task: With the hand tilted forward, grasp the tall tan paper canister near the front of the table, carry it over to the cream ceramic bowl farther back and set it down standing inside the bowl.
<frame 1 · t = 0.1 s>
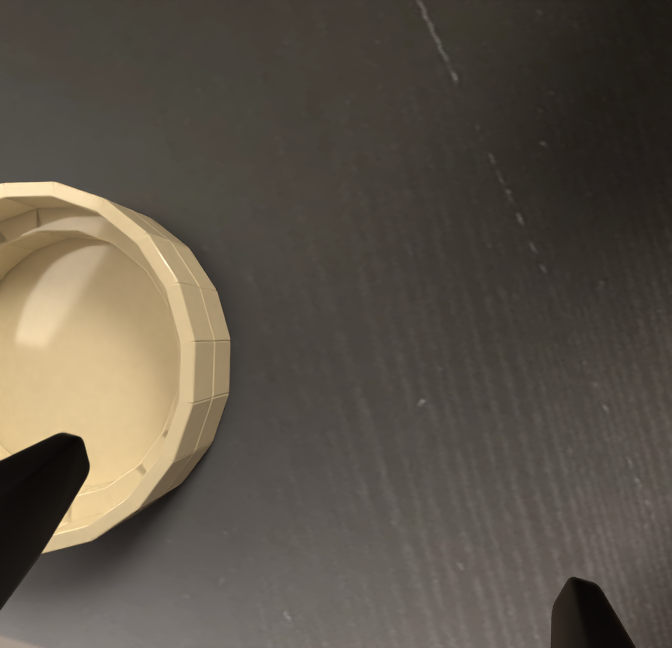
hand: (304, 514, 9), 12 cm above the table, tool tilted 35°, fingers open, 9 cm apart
bowl: (88, 360, 24), on the table
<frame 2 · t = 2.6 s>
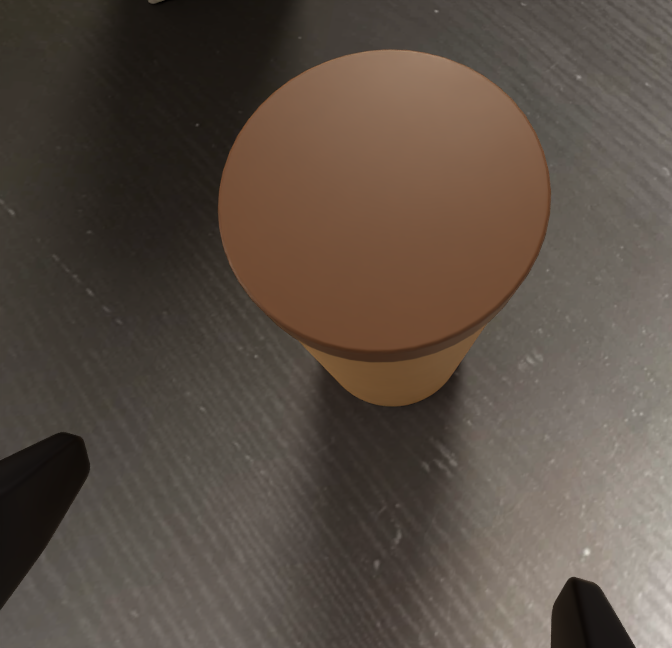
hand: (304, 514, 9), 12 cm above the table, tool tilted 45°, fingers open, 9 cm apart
canister: (391, 336, 22), on the table
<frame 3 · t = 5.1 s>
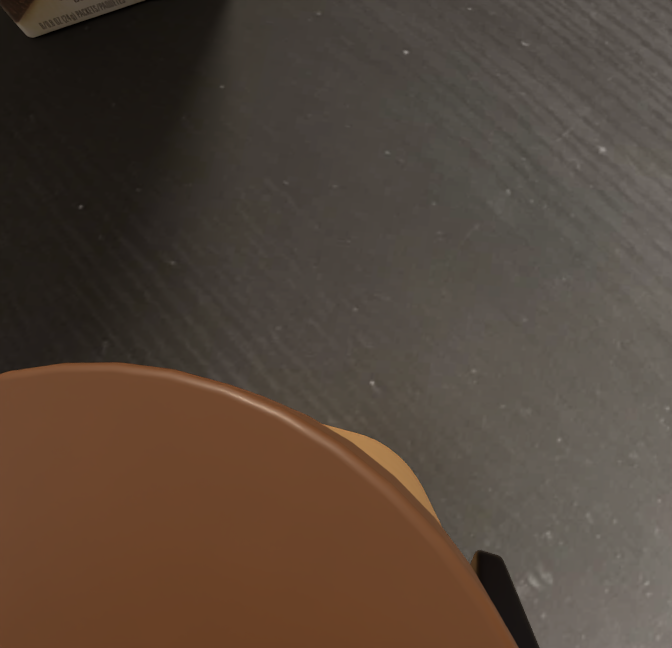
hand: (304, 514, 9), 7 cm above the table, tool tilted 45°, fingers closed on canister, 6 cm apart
canister: (332, 533, 15), on the table, touching gripper
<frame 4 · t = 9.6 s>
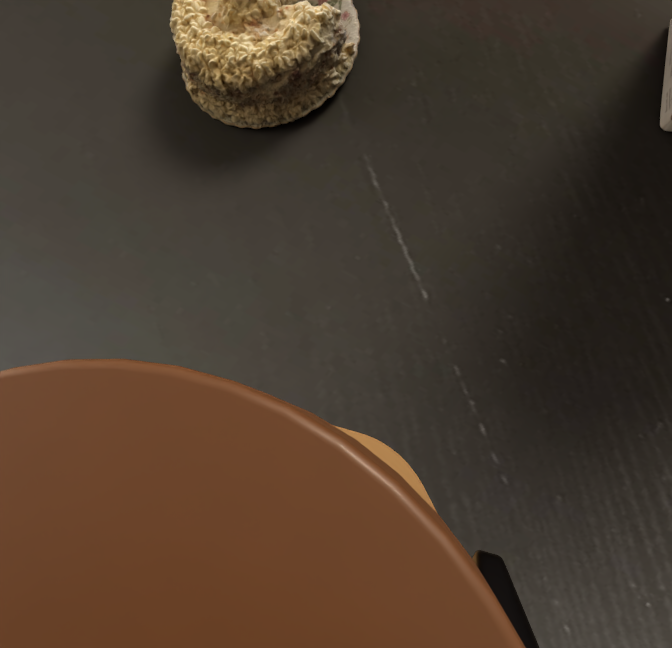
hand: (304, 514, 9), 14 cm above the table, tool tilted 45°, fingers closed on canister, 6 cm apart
canister: (333, 532, 15), point 7 cm above the table, touching gripper
cake: (270, 52, 28), on the table
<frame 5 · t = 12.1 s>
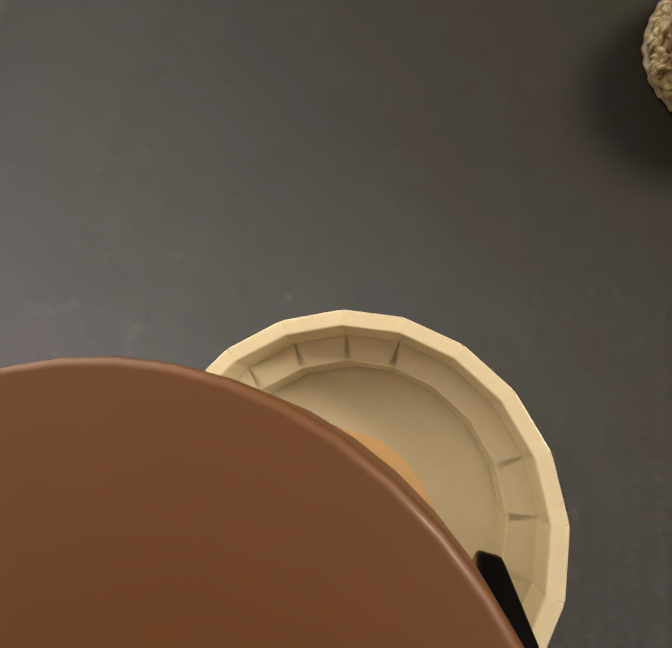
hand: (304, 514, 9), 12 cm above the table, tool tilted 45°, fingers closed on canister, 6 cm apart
canister: (332, 531, 15), point 6 cm above the table, touching gripper
bowl: (352, 506, 21), on the table
when the fingers open (7 cm above the table, at t = 14.1 s): canister stays where it is, resting on bowl.
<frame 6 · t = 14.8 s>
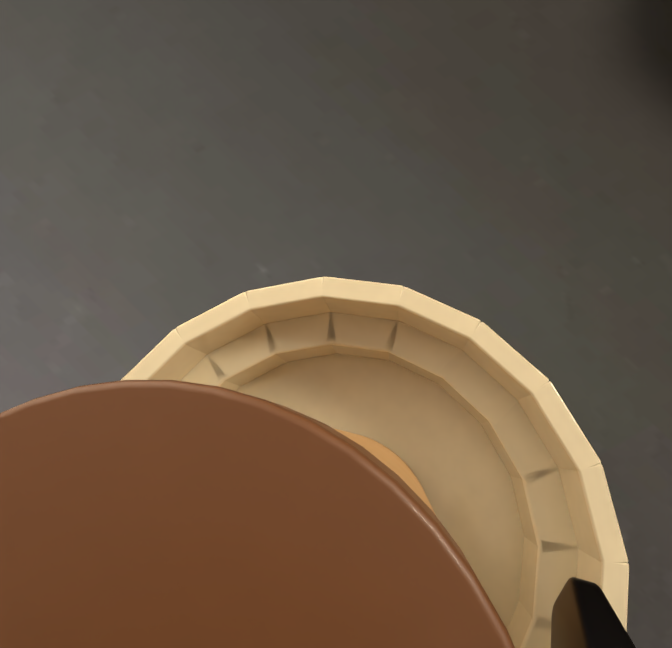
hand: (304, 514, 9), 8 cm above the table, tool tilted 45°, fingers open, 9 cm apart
canister: (336, 530, 16), resting on bowl
bowl: (338, 528, 17), on the table
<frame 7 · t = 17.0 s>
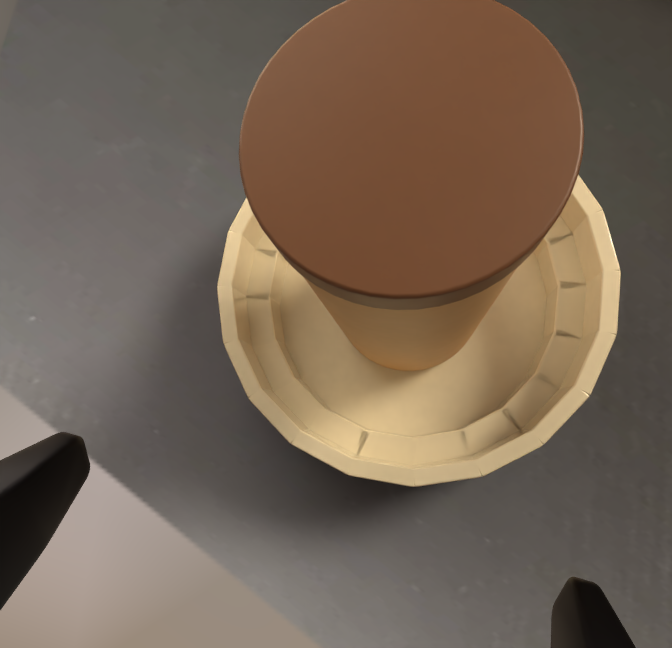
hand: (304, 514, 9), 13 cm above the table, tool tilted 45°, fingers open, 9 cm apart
canister: (407, 300, 22), resting on bowl
bowl: (408, 304, 22), on the table
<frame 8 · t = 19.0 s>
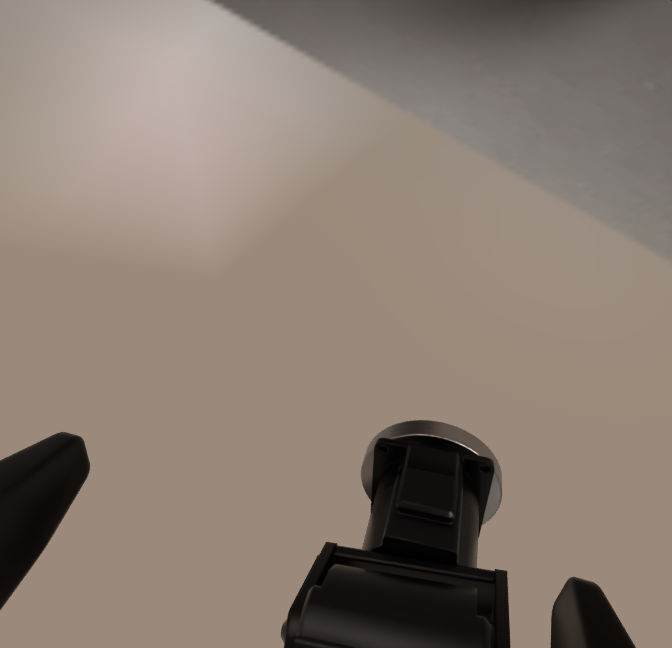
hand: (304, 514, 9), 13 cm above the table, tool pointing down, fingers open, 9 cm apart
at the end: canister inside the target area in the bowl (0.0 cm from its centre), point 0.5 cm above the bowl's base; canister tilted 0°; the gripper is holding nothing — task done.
